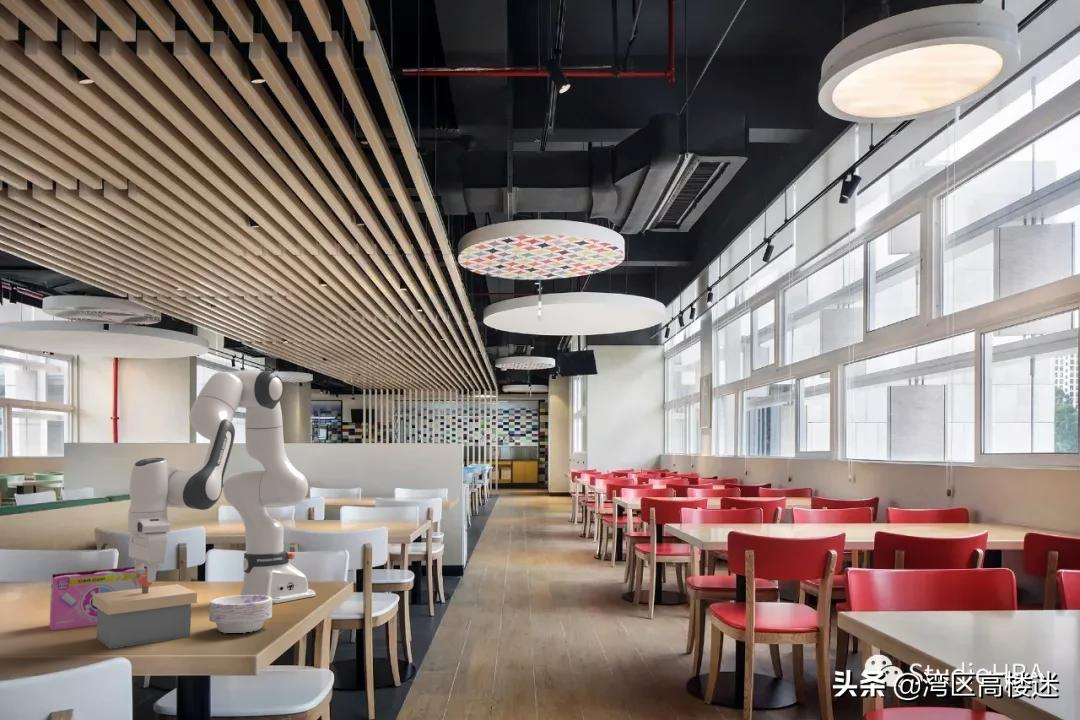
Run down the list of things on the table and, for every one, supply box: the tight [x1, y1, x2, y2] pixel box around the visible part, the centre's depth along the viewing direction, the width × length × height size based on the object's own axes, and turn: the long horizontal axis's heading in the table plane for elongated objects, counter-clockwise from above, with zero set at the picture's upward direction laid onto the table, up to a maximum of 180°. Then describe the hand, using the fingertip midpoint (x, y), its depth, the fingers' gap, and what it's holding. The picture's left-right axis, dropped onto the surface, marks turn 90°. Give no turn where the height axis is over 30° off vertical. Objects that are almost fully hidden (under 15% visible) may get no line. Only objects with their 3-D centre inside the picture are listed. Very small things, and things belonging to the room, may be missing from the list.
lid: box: [92, 575, 198, 615], centre depth 202 cm, size 20×16×7 cm
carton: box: [96, 604, 192, 650], centre depth 202 cm, size 18×14×10 cm
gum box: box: [49, 565, 148, 631], centre depth 219 cm, size 24×8×14 cm, turn 123°
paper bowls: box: [208, 594, 273, 634], centre depth 208 cm, size 15×15×8 cm
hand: (145, 579), depth 202 cm, fingers open, 8 cm apart
